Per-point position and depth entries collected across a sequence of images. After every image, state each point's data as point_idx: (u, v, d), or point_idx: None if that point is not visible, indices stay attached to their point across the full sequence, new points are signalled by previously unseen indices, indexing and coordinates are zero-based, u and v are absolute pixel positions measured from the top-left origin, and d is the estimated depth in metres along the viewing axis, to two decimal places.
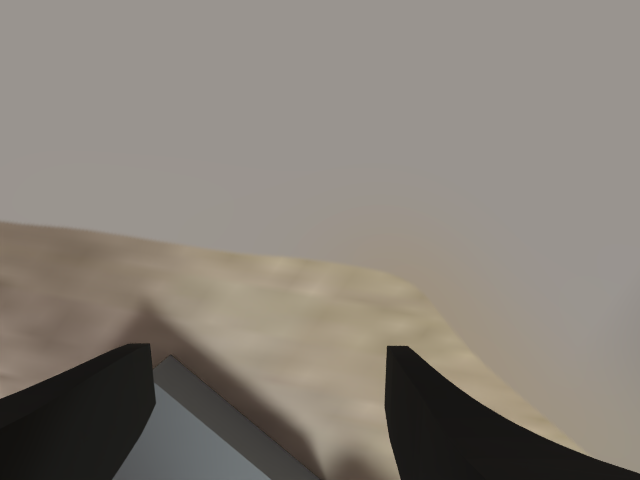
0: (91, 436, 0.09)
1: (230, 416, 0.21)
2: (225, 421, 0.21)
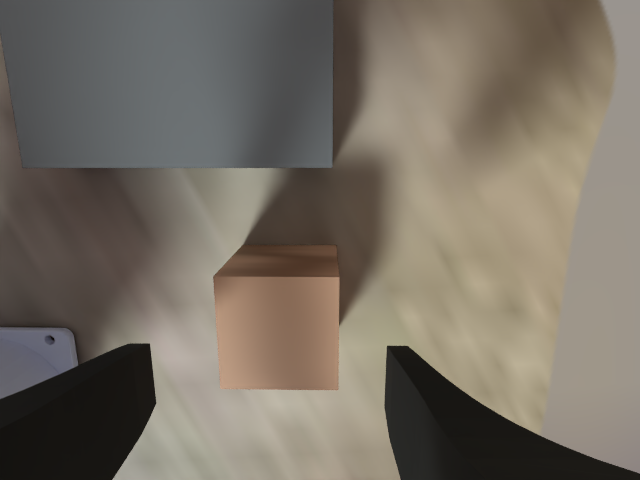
0: (91, 436, 0.09)
1: None
2: None
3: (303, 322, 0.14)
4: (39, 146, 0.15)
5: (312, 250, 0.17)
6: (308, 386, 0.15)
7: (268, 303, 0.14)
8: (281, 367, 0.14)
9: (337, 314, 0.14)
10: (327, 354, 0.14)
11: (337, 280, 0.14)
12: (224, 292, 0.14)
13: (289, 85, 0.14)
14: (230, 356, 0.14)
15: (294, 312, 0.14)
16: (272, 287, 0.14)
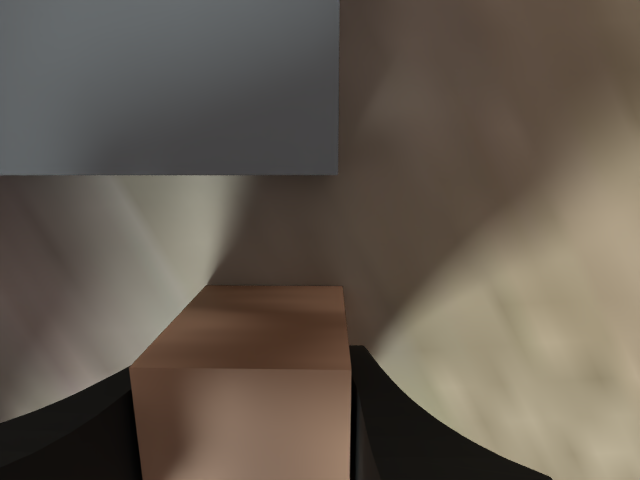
0: None
1: None
2: None
3: (288, 443, 0.08)
4: None
5: (306, 299, 0.11)
6: None
7: (227, 411, 0.08)
8: None
9: (347, 430, 0.08)
10: None
11: (347, 375, 0.08)
12: (149, 393, 0.08)
13: (265, 35, 0.08)
14: None
15: (272, 427, 0.08)
16: (232, 387, 0.08)
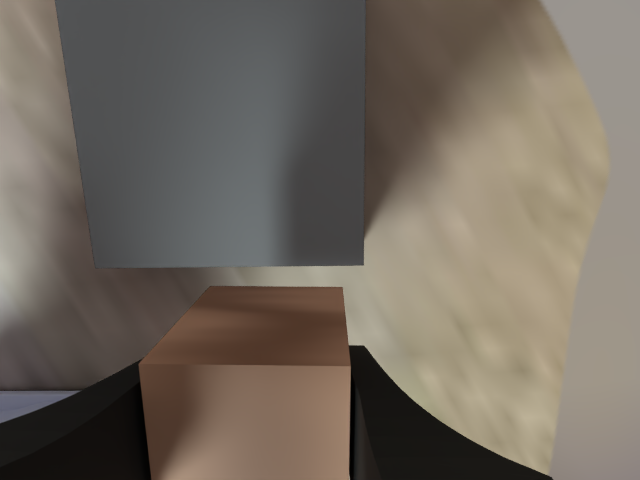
0: (145, 437, 0.09)
1: None
2: None
3: (289, 436, 0.08)
4: (110, 250, 0.17)
5: (307, 299, 0.12)
6: None
7: (231, 406, 0.08)
8: None
9: (347, 424, 0.08)
10: None
11: (347, 371, 0.08)
12: (158, 388, 0.08)
13: (326, 198, 0.16)
14: None
15: (275, 421, 0.08)
16: (237, 382, 0.08)
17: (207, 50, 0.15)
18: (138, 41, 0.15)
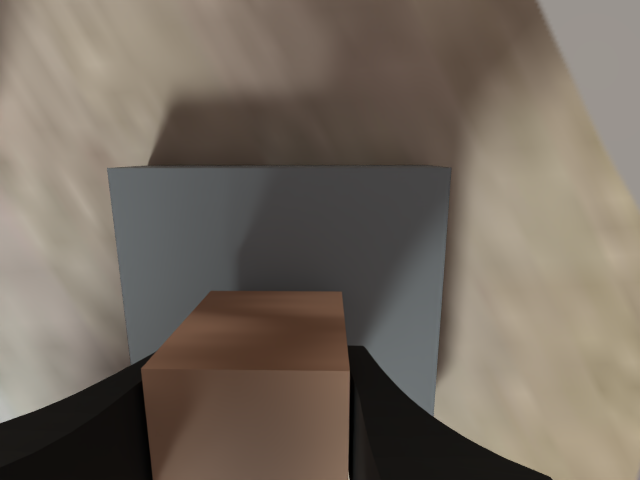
0: (146, 437, 0.09)
1: None
2: None
3: (290, 440, 0.09)
4: None
5: (307, 304, 0.12)
6: None
7: (232, 410, 0.08)
8: None
9: (346, 428, 0.08)
10: None
11: (346, 375, 0.08)
12: (160, 393, 0.08)
13: None
14: None
15: (275, 425, 0.08)
16: (238, 387, 0.08)
17: (274, 254, 0.14)
18: (199, 244, 0.14)
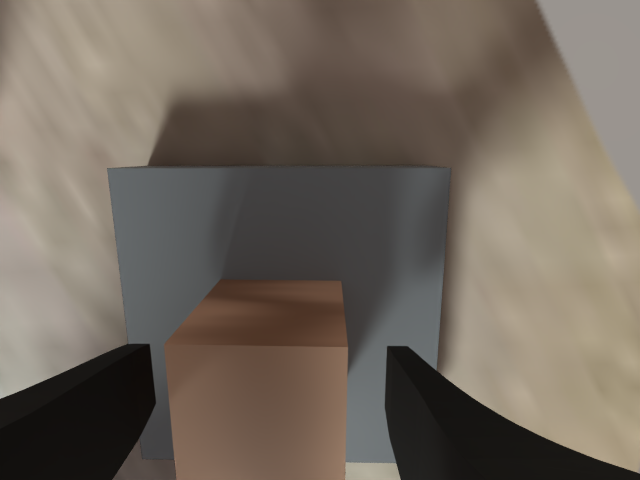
0: (91, 436, 0.09)
1: None
2: None
3: (295, 408, 0.10)
4: (159, 442, 0.16)
5: (309, 291, 0.13)
6: None
7: (244, 382, 0.10)
8: (263, 469, 0.10)
9: (344, 398, 0.10)
10: (330, 454, 0.10)
11: (345, 351, 0.09)
12: (179, 366, 0.09)
13: None
14: (190, 454, 0.10)
15: (282, 395, 0.10)
16: (249, 361, 0.09)
17: (274, 255, 0.14)
18: (199, 244, 0.14)
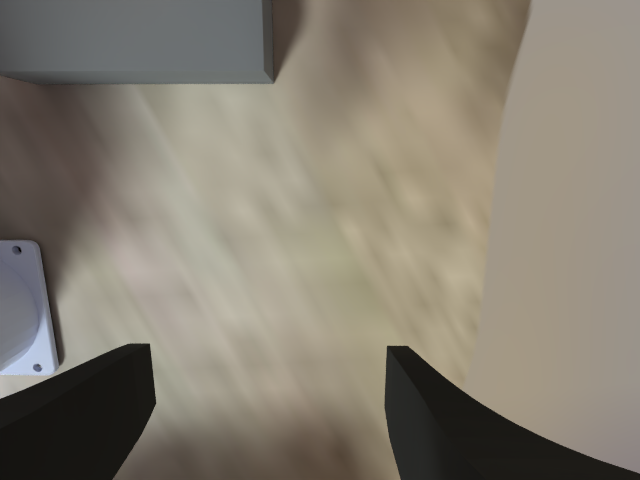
0: (91, 436, 0.09)
1: None
2: None
3: None
4: None
5: None
6: None
7: None
8: None
9: None
10: None
11: None
12: None
13: None
14: None
15: None
16: None
17: None
18: None
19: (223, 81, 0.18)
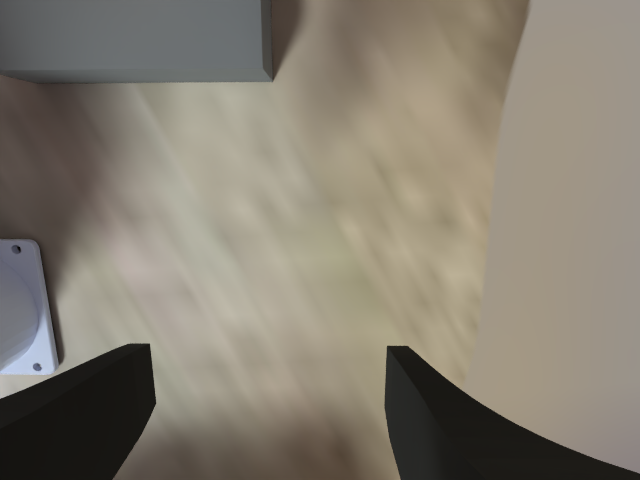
0: (91, 436, 0.09)
1: None
2: None
3: None
4: None
5: None
6: None
7: None
8: None
9: None
10: None
11: None
12: None
13: None
14: None
15: None
16: None
17: None
18: None
19: (222, 79, 0.18)
